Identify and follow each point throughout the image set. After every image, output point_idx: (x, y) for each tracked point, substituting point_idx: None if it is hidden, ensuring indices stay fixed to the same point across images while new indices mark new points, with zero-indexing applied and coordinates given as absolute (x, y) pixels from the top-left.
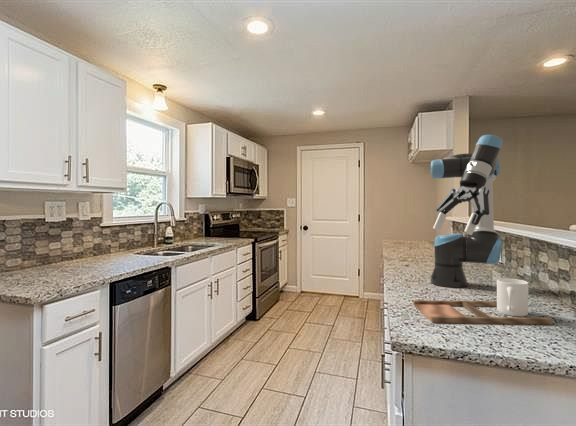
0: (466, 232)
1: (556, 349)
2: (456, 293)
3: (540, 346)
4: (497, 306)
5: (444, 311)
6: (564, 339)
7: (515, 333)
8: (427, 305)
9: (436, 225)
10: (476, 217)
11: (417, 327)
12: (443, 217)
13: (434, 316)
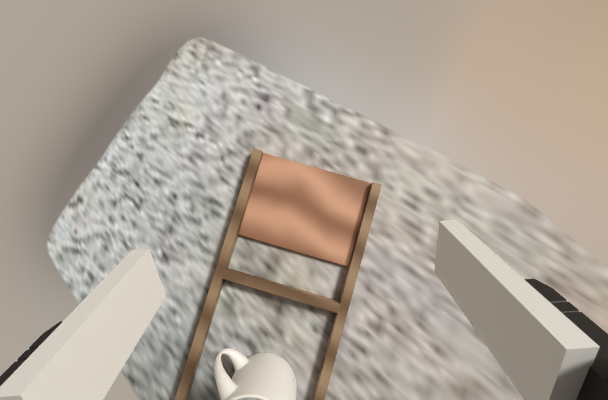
0: (151, 265)
1: (87, 277)
2: (452, 379)
3: (104, 262)
4: (279, 360)
5: (301, 217)
6: None
7: (162, 272)
8: (352, 208)
9: (454, 244)
10: (9, 374)
11: (240, 107)
12: (515, 355)
13: (257, 157)
